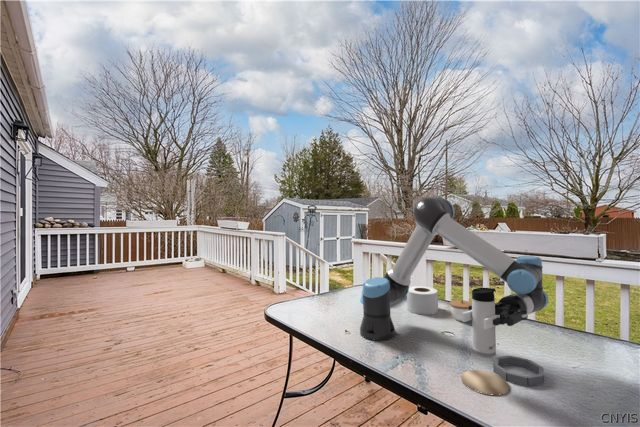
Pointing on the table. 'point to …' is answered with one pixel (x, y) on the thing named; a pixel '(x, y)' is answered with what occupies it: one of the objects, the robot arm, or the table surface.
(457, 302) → the lidded jar
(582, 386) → the table surface
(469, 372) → the coaster
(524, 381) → the collar
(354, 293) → the table surface
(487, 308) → the travel mug
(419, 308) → the toilet paper roll
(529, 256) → the robot arm
